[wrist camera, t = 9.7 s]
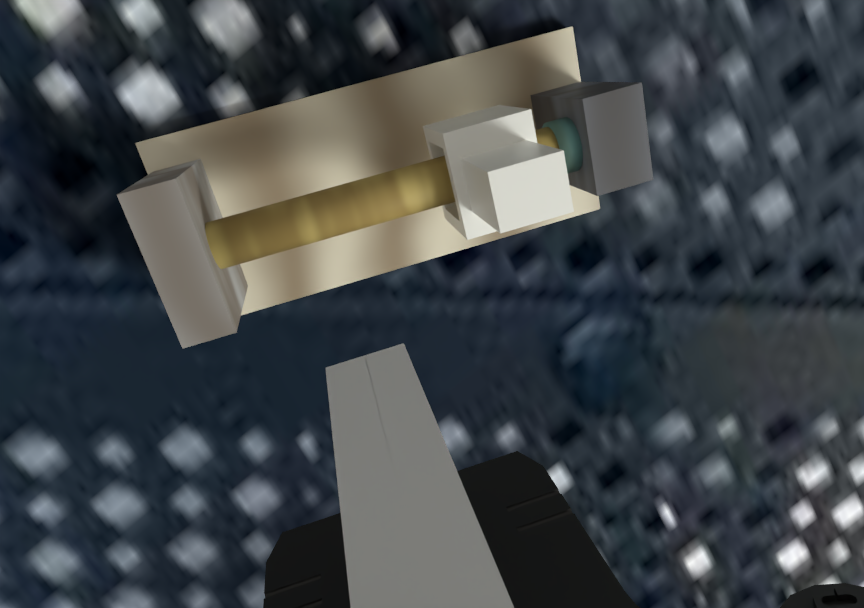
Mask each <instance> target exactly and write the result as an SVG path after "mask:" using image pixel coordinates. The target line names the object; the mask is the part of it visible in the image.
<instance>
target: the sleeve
mask: <svg viewBox="0 0 864 608" xmlns="http://www.w3.org/2000/svg"><path fill="white" fill-rule="evenodd" d="M423 130H424V134H425V138H426V142H427V146H428V150H429V154H430V158H431V159H434V158H438V157H441V156H445V159H446V163H447V168H448V172H449V176H450V180H451V185H452V189H453V193H454V197H455V202H453V203H449V204H446V205H443V206H442V208H443V212H444V216H445V219H446V220H447V221H448V222H449V223H450V224H451V225H452V226H453V227H454V228H455V229H456V230H457V231H458V232H459V233H461V234H462V235H463V236H464V237H465V238H466V239H467V240H469V239H473V238H476V237H479V236H483V235H486V234H490V233H493V232H496V231H498V232H499V233H500V234H501V233H504V232H507V231H511V230H514V229H518V228H521V227H524V226H528V225H531V224H534V223H538V222H541V221H545V220H548V219H551V218H555V217H558V216H562V215H565V214H568V213H572V212H574V209H573V203H572V197H571V191H570V185H569V179H568V173H567V167H566V161H565V155H564V150H561V149H557V148H553V147H550V146H546V145H542V144H539V143H537V138H536V132H535V127H534V121H533V116H532V110H531V109H527V108H519V107H512V106H504V105H497V106H493V107H490V108H486V109H483V110H479V111H475V112H472V113H468V114H464V115H461V116H457V117H454V118H450V119H446V120H443V121H439V122H435V123H432V124H428V125H425V126H423Z"/></svg>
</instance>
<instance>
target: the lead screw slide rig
mask: <svg viewBox="0 0 864 608" xmlns="http://www.w3.org/2000/svg"><path fill="white" fill-rule="evenodd" d="M497 105H504V106H512V107H519V108H527V109H531V110H532V116H533V121H534V127H535V132H536V138H537V143H539V144H542V145H546V146H550V147H553V148H557V149H561V150H564V155H565V161H566V167H567V173H568V179H569V185H570V191H571V197H572V203H573V209H574V212H572V213H568V214H565V215H562V216H558V217H555V218H551V219H548V220H545V221H541V222H538V223H534V224H531V225H528V226H524V227H521V228H518V229H514V230H511V231H507V232H504V233H501V234H500V233H499V232H498V231H496V232H493V233H490V234H486V235H483V236H479V237H476V238H473V239H469V240H467V239H466V238H465V237H464V236H463V235H462V234H461V233H459V232H458V231H457V230H456V229H455V228H454V227H453V226H452V225H451V224H450V223H449V222H448V221H447V220H446V219H445V216H444V212H443V208H442V206H443V205H446V204H449V203H453V202H455V197H454V193H453V189H452V185H451V180H450V176H449V172H448V168H447V163H446V159H445V156H441V157H438V158H434V159H431V158H430V154H429V150H428V146H427V142H426V138H425V134H424V130H423V126H425V125H428V124H432V123H435V122H439V121H443V120H446V119H450V118H454V117H457V116H461V115H464V114H468V113H472V112H475V111H479V110H483V109H486V108H490V107H493V106H497ZM135 144H136V147H137V149H138V151H139V154H140V156H141V159H142V161H143V164H144V166H145V169H146V171H147V174H148V175H147V176H145V177H144V178H142V179H141V180H139V181H138V182H136V183H134V184H133V185H131V186H130V187H128V188H127V189H125V190H123V191H122V192H120V193H119V194H117V197H118V199H119V202H120V204H121V206H122V209H123V211H124V213H125V216H126V218H127V220H128V223H129V225H130V227H131V230H132V232H133V234H134V237H135V239H136V241H137V244H138V246H139V248H140V251H141V253H142V255H143V257H144V260H145V262H146V264H147V267H148V269H149V271H150V274H151V276H152V278H153V281H154V283H155V285H156V288H157V290H158V292H159V295H160V297H161V299H162V302H163V304H164V306H165V309H166V311H167V313H168V316H169V318H170V320H171V323H172V325H173V327H174V330H175V332H176V334H177V337H178V339H179V341H180V344H181V346H182V348H186V347H190V346H193V345H196V344H200V343H203V342H206V341H210V340H213V339H216V338H220V337H223V336H226V335H230V334H233V333H236V332H237V328H238V324H239V320H240V316H241V315H244V314H247V313H251V312H254V311H257V310H261V309H264V308H268V307H271V306H274V305H278V304H281V303H284V302H288V301H291V300H294V299H298V298H301V297H305V296H308V295H311V294H315V293H318V292H321V291H325V290H328V289H332V288H335V287H338V286H342V285H345V284H348V283H352V282H355V281H359V280H362V279H365V278H369V277H372V276H375V275H379V274H382V273H386V272H389V271H392V270H396V269H399V268H402V267H406V266H409V265H413V264H416V263H419V262H423V261H426V260H429V259H433V258H436V257H439V256H443V255H446V254H450V253H453V252H456V251H460V250H463V249H466V248H470V247H473V246H477V245H480V244H483V243H487V242H490V241H493V240H497V239H500V238H504V237H507V236H510V235H514V234H517V233H520V232H524V231H527V230H531V229H534V228H537V227H541V226H544V225H547V224H551V223H554V222H558V221H561V220H564V219H568V218H571V217H574V216H578V215H581V214H585V213H588V212H591V211H595V210H598V209H600V204H599V198H598V196H599V195H603V194H606V193H609V192H613V191H616V190H620V189H623V188H626V187H630V186H633V185H636V184H640V183H643V182H647V181H650V180H653V173H652V165H651V156H650V148H649V140H648V131H647V123H646V114H645V106H644V97H643V89H642V83H637V82H581V79H580V72H579V65H578V59H577V52H576V46H575V39H574V32H573V27H567V28H563V29H560V30H556V31H552V32H548V33H545V34H541V35H537V36H533V37H530V38H526V39H522V40H519V41H515V42H511V43H507V44H504V45H500V46H496V47H492V48H489V49H485V50H481V51H477V52H474V53H470V54H466V55H462V56H459V57H455V58H451V59H447V60H444V61H440V62H436V63H432V64H429V65H425V66H421V67H417V68H414V69H410V70H406V71H402V72H399V73H395V74H391V75H387V76H384V77H380V78H376V79H372V80H369V81H365V82H361V83H357V84H354V85H350V86H346V87H342V88H339V89H335V90H331V91H328V92H324V93H320V94H316V95H313V96H309V97H305V98H301V99H298V100H294V101H290V102H286V103H283V104H279V105H275V106H271V107H268V108H264V109H260V110H256V111H253V112H249V113H245V114H241V115H238V116H234V117H230V118H226V119H223V120H219V121H215V122H211V123H208V124H204V125H200V126H196V127H193V128H189V129H185V130H181V131H178V132H174V133H170V134H166V135H163V136H159V137H155V138H151V139H148V140H144V141H140V142H137V143H135Z"/></svg>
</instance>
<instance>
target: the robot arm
mask: <svg viewBox="0 0 864 608" xmlns="http://www.w3.org/2000/svg"><path fill="white" fill-rule="evenodd" d="M326 377H327V387H328V396H329V406H330V415H331V425H332V435H333V444H334V454H335V463H336V473H337V483H338V492H339V502H340V511H341V513H339V514H336V515H333V516H330V517H327V518H324V519H321V520H318V521H315V522H312V523H309V524H306V525H303V526H301V527H298V528H295V529H292V530H289V531H286V532H283V533H282V534H281V536H280V538H279V540H278V542H277V544H276V545H275V547H274V549H273V551H272V553H271V555H270V557H269V559H268V560H267V562H266V575H265V591H264V593H265V598H266V599H264V607H263V608H640V607H638V606H637V605H636V604H635V603H634V602H633V601H632V599H631V598H630V597H629V596H628V595H627V594H626V592H625V591H624V590H623V588H622V586H621V585H620V583H619V582H618V580H617V579H616V577H615V576H614V574H613V573H612V571H611V570H610V568H609V566H608V565H607V563H606V562H605V560H604V559H603V557H602V556H601V554H600V553H599V551H598V550H597V548H596V547H595V545H594V543H593V542H592V540H591V539H590V537H589V536H588V534H587V533H586V531H585V530H584V528H583V527H582V525H581V523H580V522H579V520H578V519H577V517H576V516H575V514H573V513H572V511H571V508H570V507H569V505H568V504H567V502H566V500H565V499H564V497H563V496H562V494H560V493H559V491H558V488H557V487H556V485H555V484H554V482H553V480H552V479H551V477H550V476H549V474H548V473H547V471H546V470H545V468H544V467H543V466H542V465H540V464H539V463H537V462H535V461H533V460H532V459H530V458H528V457H526V456H525V455H523V454H521V453H519V452H518V451H516V452H513V453H510V454H507V455H504V456H501V457H498V458H495V459H492V460H489V461H486V462H483V463H480V464H477V465H474V466H471V467H469V468H466V469H463V470H460V471H457V470H456V468H455V465H454V463H453V460H452V458H451V456H450V453H449V451H448V448H447V446H446V444H445V441H444V439H443V436H442V434H441V432H440V429H439V427H438V424H437V422H436V420H435V417H434V415H433V413H432V410H431V408H430V405H429V403H428V401H427V398H426V396H425V393H424V391H423V389H422V386H421V384H420V381H419V379H418V377H417V374H416V372H415V370H414V367H413V365H412V362H411V360H410V358H409V355H408V353H407V350H406V348H405V346H404V343H403V344H400V345H397V346H394V347H391V348H387V349H384V350H381V351H378V352H375V353H371V354H368V355H365V356H362V357H359V358H355V359H352V360H349V361H346V362H343V363H339V364H336V365H333V366H330V367H326ZM780 608H864V587H861V586H856V585H851V584H846V583H842V584H826V585H814V586H811V587H809V588H807V589H804V590H802V591H800V592H797V593H795V594H792V595H790V596H789V598H788V599H787V600H786V601H785V602H784V604H783V605H782V606H781V607H780Z"/></svg>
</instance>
